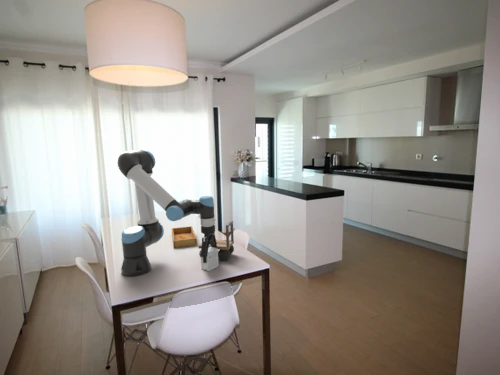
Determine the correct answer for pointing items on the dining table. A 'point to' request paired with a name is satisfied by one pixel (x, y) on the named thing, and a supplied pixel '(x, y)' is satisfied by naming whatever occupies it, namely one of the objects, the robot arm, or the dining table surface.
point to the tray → (183, 237)
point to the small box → (211, 259)
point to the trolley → (224, 244)
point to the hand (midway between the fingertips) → (209, 263)
